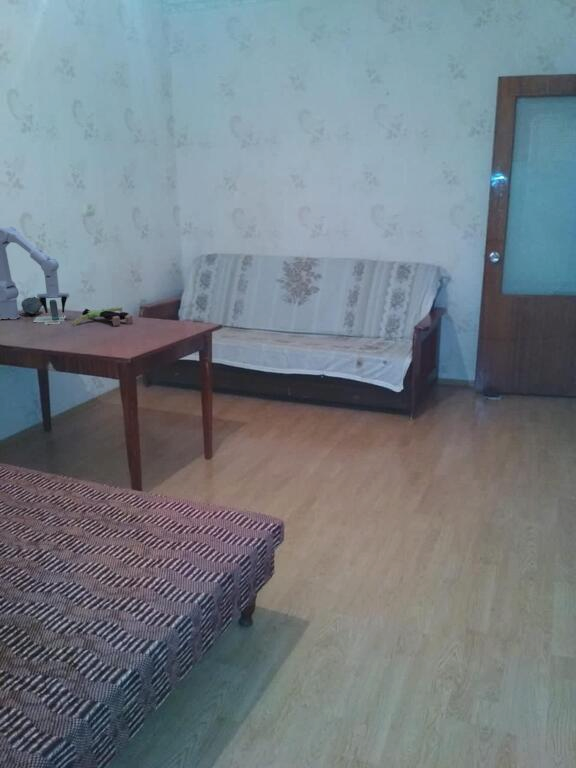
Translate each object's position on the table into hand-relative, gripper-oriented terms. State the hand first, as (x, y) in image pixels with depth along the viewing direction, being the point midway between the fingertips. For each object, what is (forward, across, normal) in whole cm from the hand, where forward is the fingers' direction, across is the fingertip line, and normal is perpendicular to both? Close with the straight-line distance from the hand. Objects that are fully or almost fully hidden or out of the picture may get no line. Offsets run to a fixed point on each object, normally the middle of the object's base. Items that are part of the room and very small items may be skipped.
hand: (55, 312), depth 304 cm
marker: (+3, 0, 0) cm, 3 cm away
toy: (+4, +23, -9) cm, 25 cm away
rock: (+4, -13, +19) cm, 23 cm away
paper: (+4, -3, +3) cm, 6 cm away
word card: (+4, -1, -8) cm, 8 cm away
